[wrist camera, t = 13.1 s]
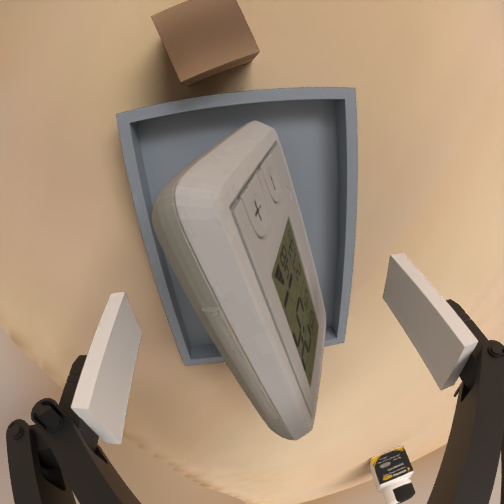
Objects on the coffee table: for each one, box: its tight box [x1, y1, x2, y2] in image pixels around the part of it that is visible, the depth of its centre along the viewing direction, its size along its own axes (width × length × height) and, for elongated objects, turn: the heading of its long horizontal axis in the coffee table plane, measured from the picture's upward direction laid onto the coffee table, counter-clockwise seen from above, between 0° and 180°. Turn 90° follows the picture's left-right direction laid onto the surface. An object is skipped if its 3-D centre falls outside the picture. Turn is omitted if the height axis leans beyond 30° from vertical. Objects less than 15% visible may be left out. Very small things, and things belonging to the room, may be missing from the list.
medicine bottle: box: [370, 445, 415, 504], centre depth 42 cm, size 7×7×12 cm
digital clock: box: [152, 120, 326, 440], centre depth 16 cm, size 16×9×11 cm, turn 7°
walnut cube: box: [151, 0, 260, 86], centre depth 13 cm, size 4×4×4 cm
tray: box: [116, 87, 358, 366], centre depth 20 cm, size 13×19×2 cm
